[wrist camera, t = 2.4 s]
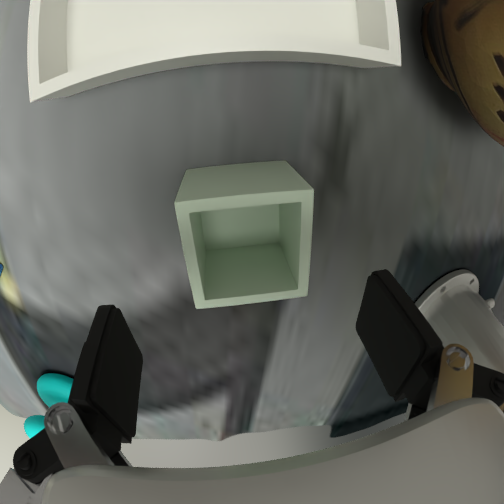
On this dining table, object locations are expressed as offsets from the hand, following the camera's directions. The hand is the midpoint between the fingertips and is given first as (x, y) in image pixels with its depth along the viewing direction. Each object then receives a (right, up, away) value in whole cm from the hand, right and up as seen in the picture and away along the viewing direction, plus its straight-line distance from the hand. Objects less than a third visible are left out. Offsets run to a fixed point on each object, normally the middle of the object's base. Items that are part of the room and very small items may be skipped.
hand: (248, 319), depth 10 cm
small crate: (-1, +5, +9) cm, 11 cm away
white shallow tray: (-3, +21, 0) cm, 21 cm away
